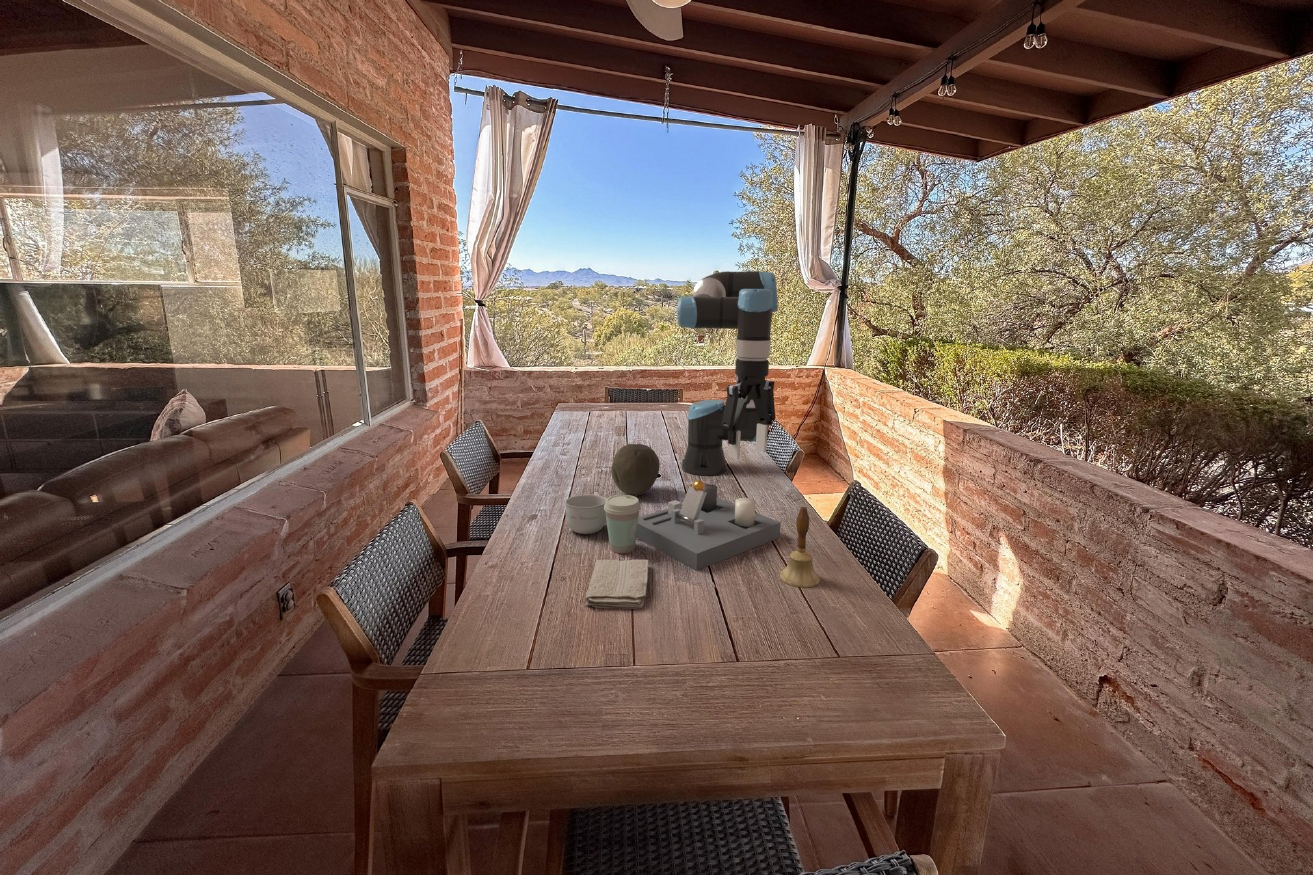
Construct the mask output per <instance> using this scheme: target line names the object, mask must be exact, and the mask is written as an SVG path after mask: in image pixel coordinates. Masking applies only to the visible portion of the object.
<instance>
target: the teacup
mask: <svg viewBox="0 0 1313 875" xmlns="http://www.w3.org/2000/svg"><path fill="white" fill-rule="evenodd" d="M607 498H608V497H605V496H602V495H599V494H598V495H597V494H579V495H574V496H570V497H568V498H566V499H565V500H564V505H565V506H564V508H565V509H564V510H565V521H566V524H567V526H568V527H569V529H571V530H572V531H573V532H575V533H577V534H581V535H582V534H583V535H589V534H591V535H592V534H595V533H597V532H599V531H601V529H602V528H604V526H607V520H606V512H605V510H604V505H605V503H606V500H607Z"/></svg>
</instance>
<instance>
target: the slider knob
mask: <svg viewBox="0 0 1313 875" xmlns="http://www.w3.org/2000/svg"><path fill="white" fill-rule="evenodd" d="M682 504H683V503H682V502H681V501H678V500H671V501H668V502H667V509H668V514H670V515H671V510H675V509H680V510H681V508H682Z"/></svg>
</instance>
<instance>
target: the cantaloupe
mask: <svg viewBox="0 0 1313 875" xmlns="http://www.w3.org/2000/svg"><path fill="white" fill-rule="evenodd" d="M660 465H661V464H660V459H659V457H658V455H657V453H656V452H655V451H654V449H653V448H652V447H650V446H649V445H646V444H642V443H628V444H625V445H623V446H622V447H621V448H619V449H618V450H617V452H615V455H614V456H613V460H612V464H611V477H612V480H613V482H614V484H615V485H616V488H618V490H619V491H620V492H622V493H623V494H625V495H631V496H634V497H639V496H642V495H643V494H645V493H646V492H648V491H649V490H650V489H652V487H653V486H654V484H655V482H656V481H657V479H658V476H659V472H660V468H661V467H660Z"/></svg>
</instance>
